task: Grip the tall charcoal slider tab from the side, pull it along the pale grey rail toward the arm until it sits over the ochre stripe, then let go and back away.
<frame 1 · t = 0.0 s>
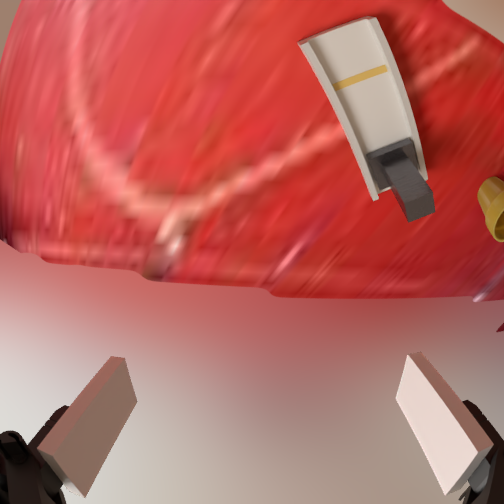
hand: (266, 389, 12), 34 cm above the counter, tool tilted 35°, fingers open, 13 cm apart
rail: (371, 110, 34), on the counter
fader: (405, 182, 34), point 8 cm above the counter, slide at 0.0 cm
plant pot: (487, 188, 41), on the counter
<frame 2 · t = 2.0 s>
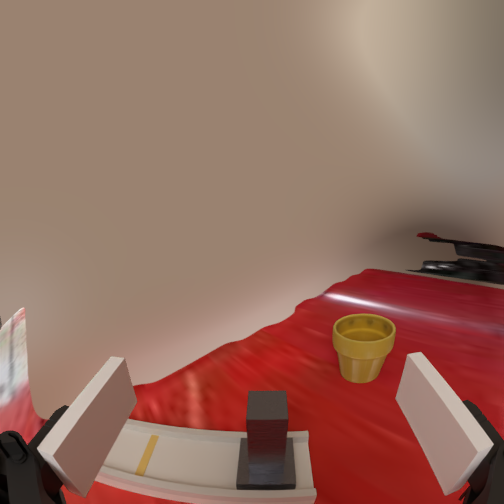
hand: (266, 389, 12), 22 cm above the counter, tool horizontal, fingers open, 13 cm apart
rail: (198, 472, 26), on the counter
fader: (266, 439, 24), point 8 cm above the counter, slide at 0.0 cm
plant pot: (358, 376, 45), on the counter
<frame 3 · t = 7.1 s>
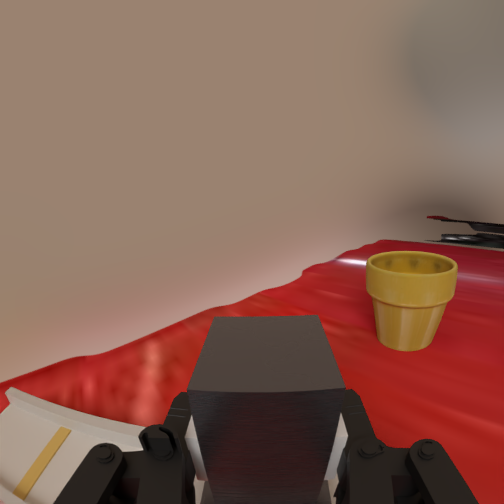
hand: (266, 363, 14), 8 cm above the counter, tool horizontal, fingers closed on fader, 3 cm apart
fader: (266, 458, 9), point 8 cm above the counter, slide at 0.0 cm, touching gripper
plant pot: (403, 343, 29), on the counter
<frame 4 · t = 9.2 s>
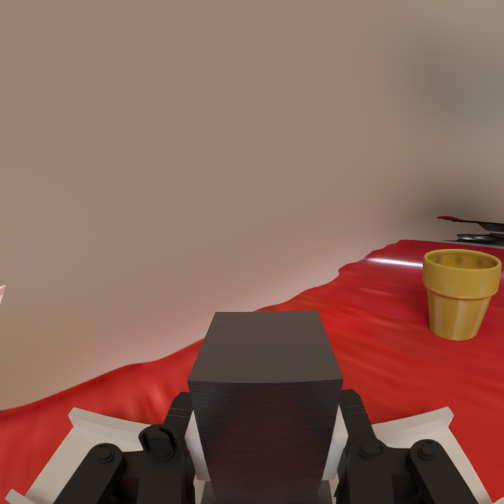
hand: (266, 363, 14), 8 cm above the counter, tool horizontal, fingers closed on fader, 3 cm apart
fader: (266, 453, 9), point 8 cm above the counter, slide at 7.4 cm, touching gripper
plant pot: (452, 334, 29), on the counter
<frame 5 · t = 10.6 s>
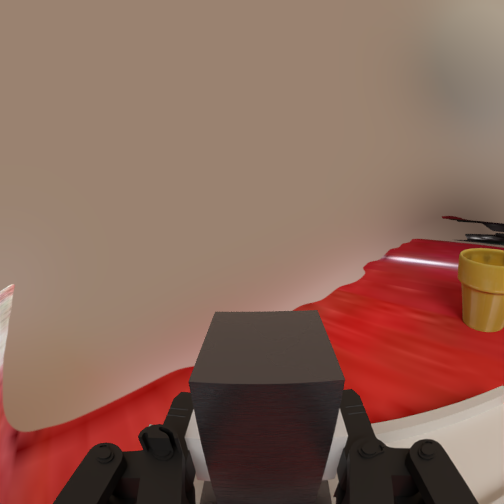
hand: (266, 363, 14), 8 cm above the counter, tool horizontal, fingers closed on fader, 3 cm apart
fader: (266, 453, 9), point 8 cm above the counter, slide at 13.7 cm, touching gripper
plant pot: (482, 327, 29), on the counter
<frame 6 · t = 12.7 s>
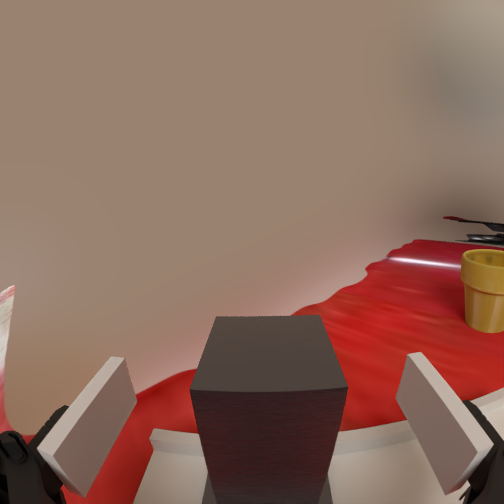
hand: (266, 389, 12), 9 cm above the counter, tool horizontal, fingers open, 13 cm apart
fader: (268, 457, 9), point 8 cm above the counter, slide at 13.9 cm
plant pot: (485, 328, 29), on the counter
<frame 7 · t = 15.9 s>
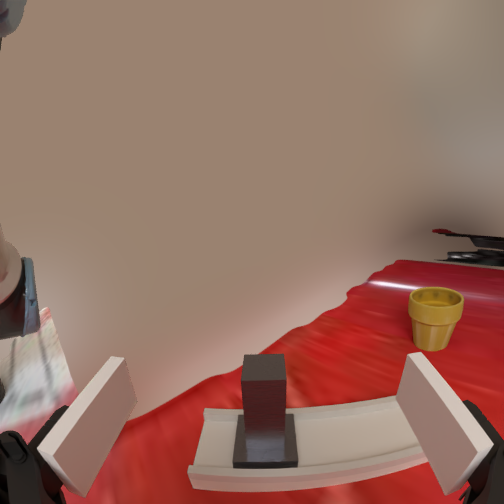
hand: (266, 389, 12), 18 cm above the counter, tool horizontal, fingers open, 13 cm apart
rail: (321, 454, 25), on the counter
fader: (265, 410, 24), point 8 cm above the counter, slide at 13.9 cm
plant pot: (429, 346, 43), on the counter
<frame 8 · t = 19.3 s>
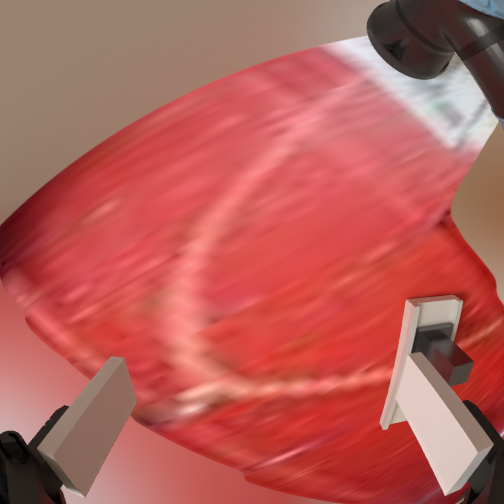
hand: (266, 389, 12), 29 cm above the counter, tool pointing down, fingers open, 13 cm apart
rail: (416, 363, 43), on the counter
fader: (444, 356, 34), point 8 cm above the counter, slide at 13.9 cm
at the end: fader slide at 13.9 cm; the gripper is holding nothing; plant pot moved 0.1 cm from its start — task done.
